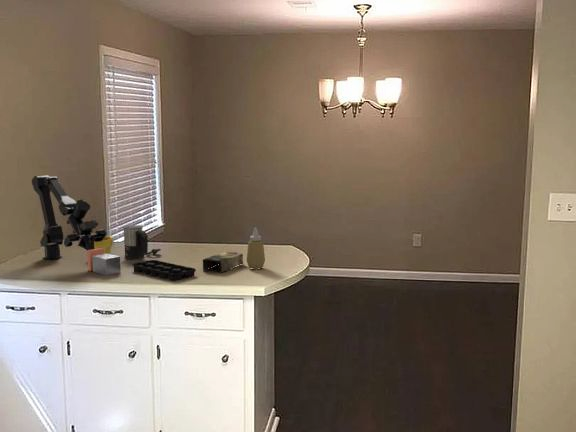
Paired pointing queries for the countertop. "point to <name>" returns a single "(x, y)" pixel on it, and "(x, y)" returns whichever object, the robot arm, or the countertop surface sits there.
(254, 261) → the squeeze bottle
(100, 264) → the housing
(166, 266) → the egg carton
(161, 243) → the countertop surface
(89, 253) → the pink block
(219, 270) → the juice carton
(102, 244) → the plant pot
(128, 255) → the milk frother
